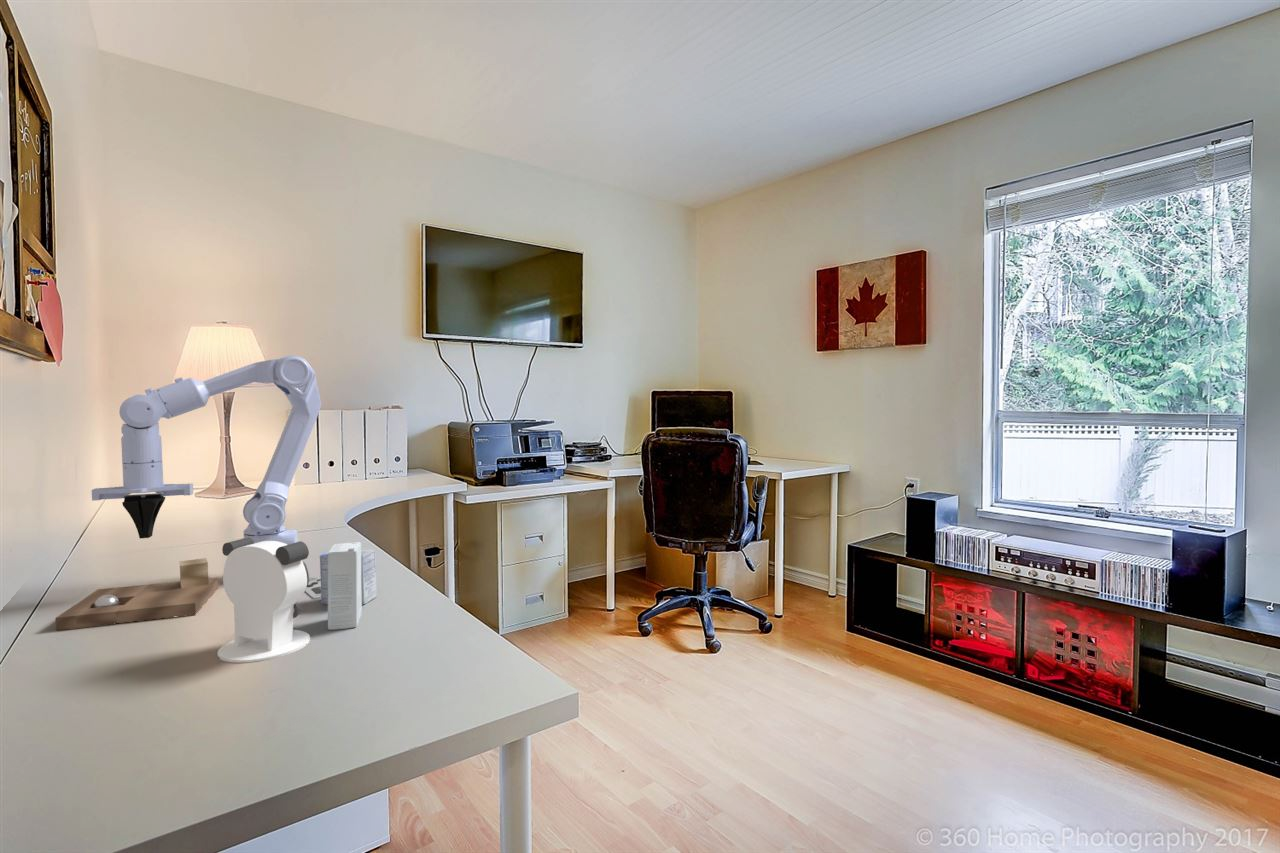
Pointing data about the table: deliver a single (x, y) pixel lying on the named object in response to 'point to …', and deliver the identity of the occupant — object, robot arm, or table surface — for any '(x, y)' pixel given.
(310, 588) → the handheld gaming device
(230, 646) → the white rounded upright piece
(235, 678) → the table surface
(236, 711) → the table surface
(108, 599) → the ball
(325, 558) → the medicine box
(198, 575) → the pale gold metal block
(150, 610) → the board
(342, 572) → the skincare box
